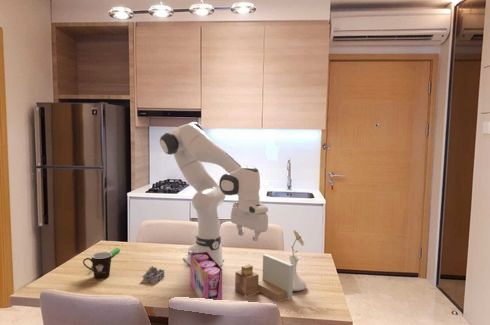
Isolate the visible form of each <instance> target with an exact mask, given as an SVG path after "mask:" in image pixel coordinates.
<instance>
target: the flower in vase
mask: <svg viewBox="0 0 490 325" xmlns="http://www.w3.org/2000/svg"><path fill="white" fill-rule="evenodd" d="M293 235H294V236H295V240H294V242H293V244H292V246H291V249H292V252H291V253H292V255H289V256H288V257H287V258H288V259H289V261H290V262H289V263H290V264H293V289H292V292H298V291H303V290H305V289H306V288H307V284H306V282H305V280H304V279H303V278H301V277H300V276H299V275H298V273H297V264H298V261H299V260H300V259H301V258H300V256H299V255H295V254H296V253H298V250H296V251H295V249H294V246H295V245H296V244H295V243H296V242H297V241H298V243H299V244H300V245H301V246H302V247H303V246H305V244H304V241H303V239H302V236H301V235H300V234H299V232H298V231H297V230H296V229H294V230H293Z"/></svg>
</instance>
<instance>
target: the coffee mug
mask: <svg viewBox="0 0 490 325" xmlns="http://www.w3.org/2000/svg"><path fill="white" fill-rule="evenodd" d="M109 252H110V251H102V252H96V253H93V254H92V255H91V258H90V257H86V258H84V259H83V261H82V263H83V266H84V267H86V268H87V269H89V270H91V271H92V272H93V278H94V279H95V280H106V279H108V278H110V274H111V272H110V271H111V264H112V257H113V256H112V254H111V253H109ZM86 260H89V261H90V262H91V263H92V265H93V269H91V267H90V266H87V264H86V263H85V262H86ZM92 265H91V266H92Z"/></svg>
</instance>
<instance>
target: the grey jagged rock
mask: <svg viewBox="0 0 490 325" xmlns="http://www.w3.org/2000/svg"><path fill="white" fill-rule="evenodd" d="M165 270H166V269H161V268H159V270H158V268H157V267H154V266H153V265H151V266H150V267H149V268H148V270H146V272H145V273H143V275H142V276H141V278H142V279H143V280H142V281H143V282H144V283H151V284H155V283H156V284H157V283H158V282H159V280H162V278H163V277H165Z"/></svg>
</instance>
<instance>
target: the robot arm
mask: <svg viewBox="0 0 490 325" xmlns="http://www.w3.org/2000/svg"><path fill="white" fill-rule="evenodd" d="M159 145H160V146H161V149H162V151H163V152H164V153H165V154H166V155H173V157H174V160H175V162H176V163H177V166H178V169H179V171H180V172H181V173H182V175H183V178H184V179H185V180H186V182H187V184H188V185H189V186H191V187H192V188H194V189H195V191H196V192H195V194H194V195H193V196H192V199H191V204H192V207H193V209H194V210H195V213H196V217H197V235H195V239H196V240H195V243H193V244H192V245H189V247H188V249H187V250H188V251H187V254H186V255H184V256H183V257H182V258H183V261H185V262H186V263H187V264H188V265H190V267H191V253H201V252H208V254H209V255H210V256H211V257H212V258H213V259H214V261H215V262H216V263H217V264H218V265H219V266H220V267H222V265H224V264H223V262H224V261H225V258H224V257H223V246H222V244H221V242H222V237H221V220H220V218H219V216H218V207H219V206H220V205H222V204H223V202H224V201H225V198H226V196H234V195H235V196H237V198H238V199H237V201H238V202H237V201H235V202H234V203H233V204H232V208H231V213H230V222H231V223H232V224H233V225H234V224H235V225H236V229H237V234H238V236H240V237H242V236H244V232H245V231H244V230H243V228H246V229H249V230H251V231H253V232H254V235H253V236H252V241H254V242H258V241H259V237H260V235H261V233H266V232H267V231H268V229H269V216H268V212H269V208H268V206H266V205H265V204H263V203H262V201H260V200H261V199H260V189H261V179H260V178H261V175H260V172H259V171H260V170H258V168H257V167H255V166H251V165H250V166H249V165H240V163H238V162H237V161H236V160H235V159H234V158H233V157H232V156H231V155H229V154H228V153H227V152H226V151H225V150H223V149H222V148H221V147H220V146H218V145H217V144H216V143H215V142H214V141H213V140H211V138H210V137H209V136H208V135H207V134H206V133H205V132H204V130H203V127H202V126H201V124H199V123H198V122H196V121H193V122H191V121H190V122H189V123H186V124H182V125H180V126H177V127H176V128H173V129H172V130H170V131H168V132H165V133H164V134H163V135H161V136H160V139H159ZM203 163H209V164H213V165H217V166H220V167H221V168H223V169H224V171H225V172H227V173H224V174H222V176H221V177H220V179H219V182H218V183H217V182H216V181H215V180H214V179H213V177H212V176H211V175H210V173H209V172H208V170H207V169H206V168H205V166H204V165H203Z"/></svg>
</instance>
